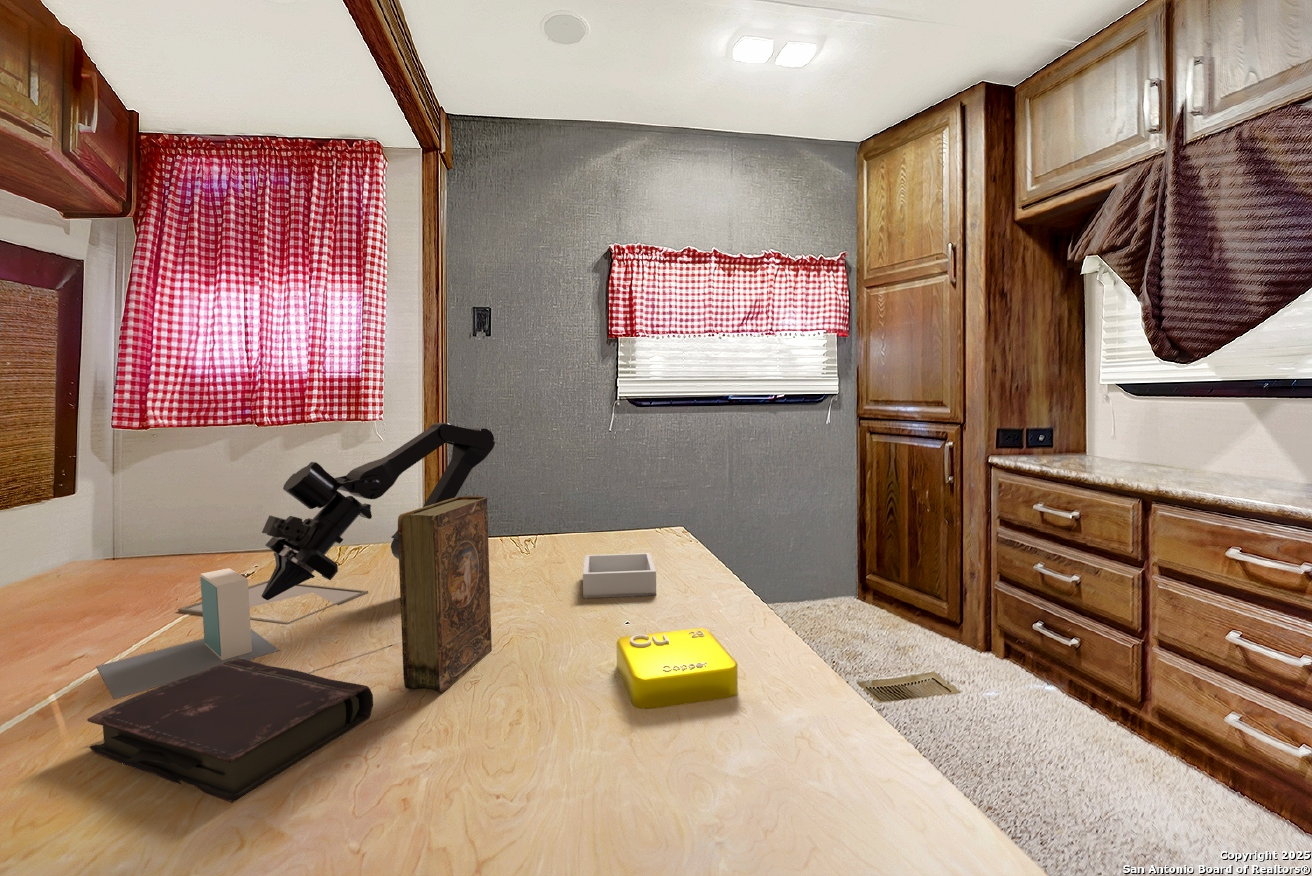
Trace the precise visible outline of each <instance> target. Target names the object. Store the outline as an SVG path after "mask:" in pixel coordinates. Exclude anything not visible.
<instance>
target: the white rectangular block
mask: <svg viewBox="0 0 1312 876" xmlns="http://www.w3.org/2000/svg"><path fill="white" fill-rule="evenodd" d="M199 579H200V592H201V594H200V595H201V602H202V611H203V615H202V625H203V639H204V642H205V645H207V646H208V647H209V648H210V649H211V650H212V651H213V652H214V653H215V654H216V655H217V656H218V657H219V658H220V659H221V660H225V659H229V658H232V657H235V656H239V655H242V654H246V653H249V652H252V642H251V629H252V628H251V627H252V626H251V620H250V617H251V614H250V613H251V612H250V608H251V607H250V608H249V591H248V587H249V579H248V578H247V577H245V576H244V575H242V574H240V573H239V572H237V571H235V570H233V569H231V568H230V567H228V568H223V569H218V570H212V571H207V572H203V573H201V572H200V578H199Z"/></svg>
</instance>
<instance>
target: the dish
mask: <svg viewBox="0 0 1312 876" xmlns="http://www.w3.org/2000/svg"><path fill="white" fill-rule="evenodd" d="M583 563H584V564H583V570H582V598H583V599H595V598H619V597H643V596H645V597H646V596H647V597H648V596H657V570H656V566H655V564H654V560H653V557H652V553H651V552H637V553H635V552H634V553H633V552H632V553H611V554H609V553H608V554H605V553H603V554H585V555H584V561H583Z"/></svg>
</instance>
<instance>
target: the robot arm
mask: <svg viewBox="0 0 1312 876" xmlns="http://www.w3.org/2000/svg"><path fill="white" fill-rule="evenodd" d="M444 444H448V445H452V451H451V452H452V453H451V460H450V462H449V463H448V465H447V467H446V468H445V470H444V471H443V473H442V474H441V477H440V478H439V480H438V481H437V483H436V484H435V486H434V488H433V489H432V491H431V493H430V495H429V496H428V498H427V500H426V501H425V503H424V505H422V508H423V507H426V506H429V505H432V504H435V503H439V502H442V501H445V500H448V499H452V498H455V497H458V495H459V492H460V491H461V489H462V487H463V485H464V483H465V482H466V480H467V478H468V476H470V474H471V472H472V470H473V469H474V468H475V467H477V466H478V465H479V464H481V463H482V462H483V461H484V460H486V459H487V457H488V456H489V455H490V454H491V452H492V451H493V449H494V448H495V444H496V441H495V436H494V434H493V432H492V431H491V430H490V429H488V428H483V427H481V428H480V427H479V428H478V427H462V426H457V425H453V424H451V423H449V422H448V423H447V422H434V423H433V424H431V425H430V426H429V428H426V430H424V431H422V432H421V433H419V434H417V435H416V436H415V437H413V438H412V439H410V440H408V441H407V442H405V443H404V444H402V445H401V446H400V447H398V448H396V449H395V450H394V451H392V452H390V453H389V454H387V455H386V456H383V457H382V458H379V459H375V460H372V461H369V462H367V463H365V464H362V465H359V466H358V467H355V468H353V469H352V470H349V472H348V473H347V474H346V475H341V476H338V477H334V476H332V475H331V474H330V473H329V472H327V471H326V470H325V469H324V467H322V465H321V464H320V463H318V462H316V461H310V462H309V464H308V465H307V466H304V467H302V468H301V469H299V470H298V471H297V472H295V473H292V474H291V475H290V477H289V478H288V479H287V480H286V482H285V483H284V484H283V486H282V489H283V491H284V492H286V493H287V494H288V495H290V496H291V497H293V498H294V499H295V500H297V501H298V502H300V503H301V504H302V505H304V506H305V507H306V508H307V509H309V510H313V509H316V508H318V509H320V510H319V511H318V513H316V515H315V516H314V517H313V518H309V517H308V518H305V519H304V520H303V518H300V517H297V516H293V515H289V516H288V517H287V518H282V517H277V516H273V515H268V518H267V519H266V521H265V524H264V527H263V528H262V531H261V533H262V534H266V535H267V536H268V537H269V536H270V537H271V538H270V539H269V540H268V542H267V543H265V545H264V546H265V547H266V548H269V550H271V551H273V552H274V553H273V556H274V560H275V568H274V569H273V572H272V574H271V576H270V578H269V579H268V580H269V582H268V584H267V586H266V588H265V590H264V592H263V594H262V596H261V597H262V598H264V599H266V600H269V599H271V598H273V597H275V596H277V595H279V594H281V593H283V592H284V591H286V590H288V589H290V588H292V587H294V586H296V585H298V584H303V583H305V582H306V581H308V580H310V579H314V578H316V576H315V574H313V573H314V572H317V573H318V574H320V575H321V578H324V579H326V580H328V581H331V580H332V579H333V578H334V577H335V575H336V574H337V573H338V572H339V565H338V563H337V562H335V561H334V560H332V559H331V558H330V557H328V556H327V555H326V554H327V553H328V552H329V551H330V550H331V548H333V546H334V545H335V544H341V543H342V542H343V541H344V538H342V536H343V534H344V533H345V532H346V531H347V530H348V529H349V527H351V525H352V524H353V523H354V522H355V521H356V519H357V518H359V517H361V518H364V519H368V520H370V519H372V518H373V517H372V511H371V510H372V509H371V507H372V505H371V504H369V503H362V502H361V501H359V500H358V499H356V498H357V497H358V498H361V499H367V500H377V499H379V498H381V497H382V496H383V495H384V494H386V493H387V491H389V489H391V488H392V487H393V486H394V484H395V483H396V482H397V480H398V478H399V477H400V476H401V475H402V474H403V473H404V472H405V471H407V470H408V469H410V468H412V467H413V466H414V465H416V464H417V463H419V462H420V461H422V460H423V459H424V458H425V457H427V456H428V455H430V454H431V453H433V452H434V451H435V450H438V449H439V448H440V447H442V446H443V445H444ZM340 491H342V492H347V493H349V494H350V495H348V496H345V495H343V494H342V493H341V492H340ZM355 497H356V498H355ZM391 539H392V541H391V544H390V549H391V550H390V551H391V553H392V555H393V557H395V558H396V559H397V560H399V548H398V529H397V531H395V533H394V534H393V535H392V536H391Z"/></svg>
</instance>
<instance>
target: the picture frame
mask: <svg viewBox="0 0 1312 876" xmlns="http://www.w3.org/2000/svg"><path fill="white" fill-rule="evenodd" d="M269 580H270V579H268V580H264V581H262V582H258V583H256V584H252V585H248V591H249V608H253V607H258V606H262V605H266V604H271V603H276V602H279V601H283V600H287V599H292V598H295V597H300V596H301V597H302V596H303V595H305V596H306V595H308V594H314V595H316V596H319V597H320V598H323V599H325V600H327V601H328V602H331V603H332V604H329V605H327V606H325V607H323V608H321V609H320V608H319V609H317V610H315V611H312V612H310V613H308V614H305V615H303V616H300V617H298V618H296V619H293V620H291V621H283V620H275V619H267V618H260V617H259V618H258V617H252V616H250V621H251V620H252V621H253V620H254V621H258V622H259V621H260V622H266V623H267V622H268V623H275V624H281V625H290V624H292V623H294V622H297V621H299V620H302V619H305V618H306V617H309V616H311V615H314V614H316V613H319V612H322V611H323V610H326V609H328V608H331V607H333V606H336V605H337V606H341V605H344V604H346V603H348V602H351V601H353V600H355V599H358V598H361V597H363V596H365V595H367V594H369V590H366V589H365V590H364V589H355V588H346V587H337V586H336V587H335V586H327V585H326V586H325V585H317V584H316V585H315V584H307V583H300V584H298V585H296V586H294V587H292V588H290V589H288V590H286V591H284V592H283V593H281V594H279V595H277V596H275V597H273V598H271V599H269V600H266V599H264V598H262V597H261V596H262V594H263V592H264V590H265V588H266V586H267V584H268V582H269ZM177 611H178V613H182V614H192V615H198V616H203V611H202V601H199V602H196V603H192V604H190V605H185V606H184V607H181V608H178V609H177Z"/></svg>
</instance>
